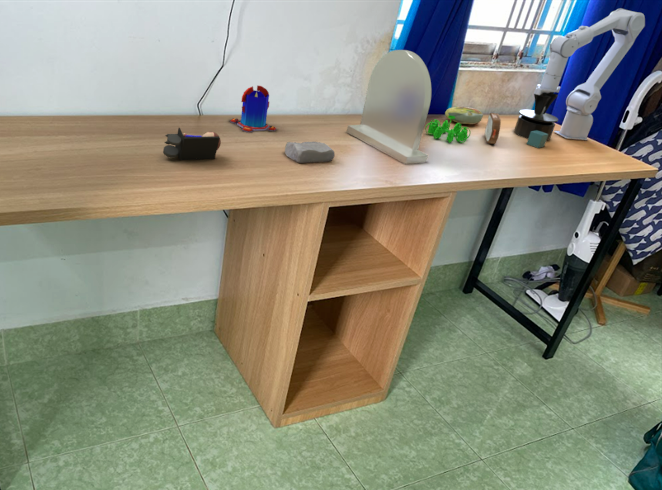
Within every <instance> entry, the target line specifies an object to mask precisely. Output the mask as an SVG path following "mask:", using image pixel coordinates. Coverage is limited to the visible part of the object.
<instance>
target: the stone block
mask: <svg viewBox="0 0 662 490" xmlns="http://www.w3.org/2000/svg"><path fill="white" fill-rule="evenodd" d="M284 148H285V149H284V154H285V155H286V157H287V158H289V159H291V160H293V161H294V162H296V163H298V164H309V163H328V162H331V161H333V160H334V159H335V151H334V149H333V148H332V147H330V146H329V145H328V144H327V143H325V142H321V141H303V142H296V141H294V142H293V141H287V142H286V145H285V147H284Z"/></svg>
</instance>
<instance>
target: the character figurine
mask: <svg viewBox="0 0 662 490" xmlns="http://www.w3.org/2000/svg"><path fill="white" fill-rule="evenodd" d="M164 136H165V137H166V141H164V144H166V145H164V146H163V150H162V152H163V155H164V156H166V157H167V158H173V159H174V158H177V157H178V159H179V161H194V160H215V159H216V155H217V151H218V150H219V149H220V147H221V143H222V140H221V137H220V136H219V134H218V133H216V132H214V131H207V132H205V133H204V134H203V135H195V134H194V135H192V134H187V133H185V132H184V133H183V132H182V130H181V128H180V127H178V129H177V133H167V134H165V135H164Z"/></svg>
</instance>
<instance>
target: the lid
mask: <svg viewBox="0 0 662 490" xmlns="http://www.w3.org/2000/svg"><path fill="white" fill-rule="evenodd" d="M545 108H546V106H545V107H544V109H543V111H542V113H541V114H540V115H537V114H534V110H533V109H520V110H519V111H518V114H519V116H520V115H522V116H524V117H526V118H528V119H531V120H534V121H538V122H545V123H555V124H556V123H558V122H559V118H558V117H557V116H555V115H553V114H550V113H547V112H545V114H543V113H544V110H545Z"/></svg>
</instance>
